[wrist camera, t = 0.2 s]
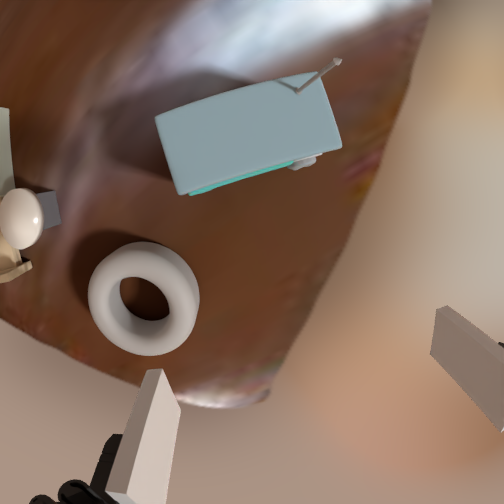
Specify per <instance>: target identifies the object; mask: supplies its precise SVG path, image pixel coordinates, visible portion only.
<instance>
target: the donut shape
mask: <svg viewBox="0 0 504 504" xmlns="http://www.w3.org/2000/svg"><path fill="white" fill-rule="evenodd" d="M126 277H140V278H143V279H146V280H148V281H150V282H152V283H153V284H155V285H156V286H157V287H158V288H159V289H160V290H161V291H162V292H163V294H164V295H165V297H166V299H167V301H168V304H169V309H170V314H169V315H168V316H167V317H165V318H163V319H161V320H157V321H148V320H144V319H141V318H139V317H137V316H135V315H134V314H132V313H131V312H130V311H129V310H128V309H127V308H126V307H125V305H124V303H123V302H122V299H121V296H120V290H119V288H120V282H121V280H122V279H123V278H126ZM88 303H89V308H90V312H91V314H92V317H93V319H94V321H95V323H96V325H97V326H98V328H99V329H100V331H101V332H102V333H103V334H104V335H105V336H106V337H107V338H108V339H109V340H110V341H111V342H112V343H114V344H115V345H117V346H118V347H120V348H122V349H124V350H126V351H128V352H131V353H134V354H138V355H146V356H153V355H160V354H164V353H167V352H170V351H172V350H174V349H175V348H177V347H178V346H180V345H181V344H182V343H183V342H184V341H185V340H186V339H187V337H188V336H189V335H190V333H191V331H192V329H193V327H194V324H195V320H196V316H197V312H198V307H199V289H198V284H197V281H196V278H195V276H194V274H193V272H192V270H191V269H190V267H189V266H188V265H187V263H186V262H185V261H184V260H183V259H182V258H181V257H180V256H179V255H178V254H176V253H175V252H173V251H172V250H170V249H168V248H167V247H164V246H162V245H159V244H156V243H151V242H135V243H130V244H127V245H124V246H122V247H120V248H119V249H117V250H116V251H114V252H113V253H111V254H110V255H109V256H107V257H106V258H105V259H103V260H102V261H101V262H100V263H99V265H98V266H97V267H96V269H95V270H94V272H93V274H92V276H91V279H90V282H89V287H88Z"/></svg>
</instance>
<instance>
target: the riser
mask: <svg viewBox="0 0 504 504" xmlns="http://www.w3.org/2000/svg"><path fill="white" fill-rule="evenodd" d="M36 195H37V196H38V198H39V200H40V202H41V205H42V208H43V213H44V226H43V230H45V229H47V228H50V227H53V226H55V225H58V224H61V223H62V222H61V218H60V213H59V209H58V204H57V199H56V193H55V191H50V192H44V193H38V194H36Z"/></svg>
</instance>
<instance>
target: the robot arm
mask: <svg viewBox="0 0 504 504" xmlns="http://www.w3.org/2000/svg"><path fill="white" fill-rule="evenodd" d="M430 355H431V356H432V357H433V358H434V359H435V360H436V361H437V362H438V363H439V364H440V365H441V366H442V367H443V368H444V369H445V371H446V372H447V373H448V374H449V375H450V376H451V377H452V378H453V379H454V380H455V381H456V382H457V384H458V385H459V386H460V387H461V388H462V389H463V390H464V391H465V392H466V393H467V395H468V396H469V397H470V398H471V399H472V400H473V401H474V402H475V403H476V405H477V406H478V407H479V408H480V409H481V410H482V411H483V412H484V414H485V415H486V416H487V417H488V418H489V420H490V421H491V422H492V423H493V424H494V426H495V427H496V428H497V429H498V430H499V432H502V431H503V430H504V343H501V342H499V343H497V342H495V341H494V340H493V339H491V338H490V337H489V336H488V335H486V334H485V333H484V332H482V331H481V330H480V329H479V328H477V327H476V326H475V325H473V324H472V323H471V322H469V321H468V320H467V319H465V318H464V317H463V316H461V315H460V314H459V313H457V312H456V311H454V310H453V309H452V308H450V307H449V306H445V307H442V308H439V309H437V310H436V317H435V325H434V332H433V339H432V345H431V351H430ZM180 413H181V410H180V407H179V405H178V403H177V401H176V399H175V396H174V394H173V392H172V390H171V387H170V385H169V383H168V380H167V378H166V376H165V373H164V371H163V369H153V370H147V372H146V374H145V377H144V379H143V382H142V385H141V387H140V390H139V393H138V395H137V398H136V401H135V403H134V406H133V409H132V411H131V414H130V417H129V420H128V423H127V426H126V428H125V431H124V434H113V435H112V436H111V437H110V438H109V439H108V440H107V442H106V443H105V445H104V448H103V451H102V454H101V456H100V459H99V462H98V464H97V467H96V469H95V472H94V475H93V478H92V481H91V483H90V486H88V485H87V484H86V483H85V482H83V481H81V480H70V481H67V482H66V483H64V484H63V485H62V486H61V488H60V489H59V492H58V500H59V501H60V502H55V501H54V500H52V499H51V498H50V497H48V496H46V495H38V496H35V497H34V498H33V499H32V500H31V501H30V503H29V504H166V498H167V491H168V484H169V477H170V471H171V465H172V459H173V452H174V447H175V440H176V435H177V430H178V424H179V418H180Z"/></svg>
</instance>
